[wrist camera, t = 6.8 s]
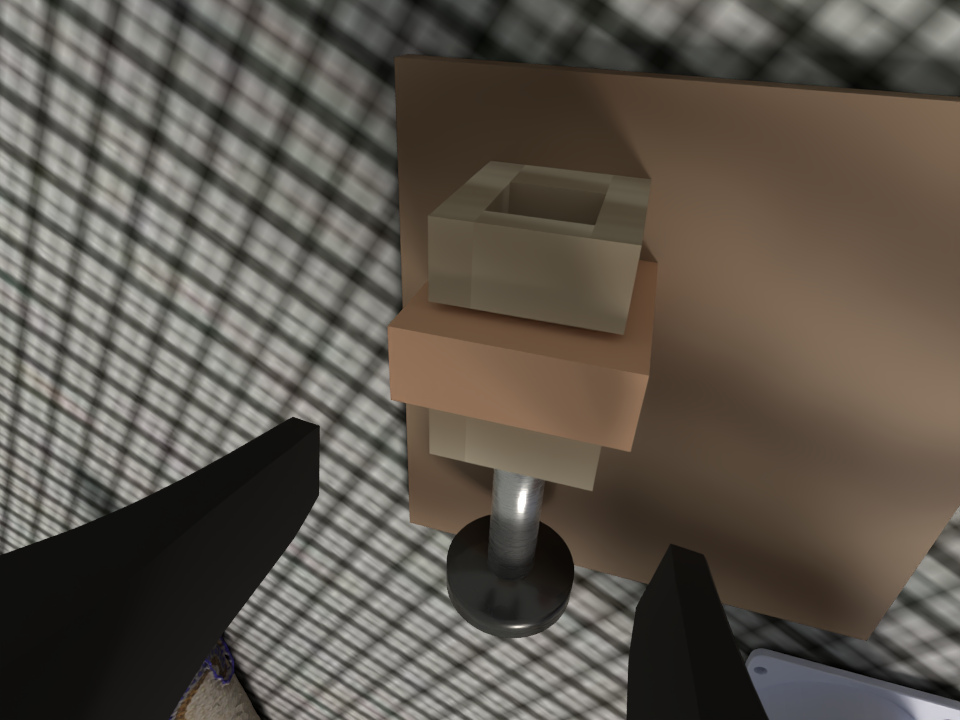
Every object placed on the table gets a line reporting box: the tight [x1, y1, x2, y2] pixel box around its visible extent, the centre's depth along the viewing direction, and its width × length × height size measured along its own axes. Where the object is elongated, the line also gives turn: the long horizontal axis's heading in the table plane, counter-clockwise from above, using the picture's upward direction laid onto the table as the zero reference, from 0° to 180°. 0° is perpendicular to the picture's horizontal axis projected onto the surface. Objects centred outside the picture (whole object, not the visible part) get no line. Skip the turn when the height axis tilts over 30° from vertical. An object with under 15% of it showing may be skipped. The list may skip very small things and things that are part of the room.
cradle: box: [394, 54, 960, 641], centre depth 17 cm, size 18×18×6 cm
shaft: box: [447, 469, 574, 638], centre depth 19 cm, size 8×4×4 cm, turn 178°
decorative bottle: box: [169, 637, 261, 720], centre depth 37 cm, size 26×8×7 cm, turn 8°
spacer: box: [388, 260, 658, 452], centre depth 15 cm, size 2×6×6 cm, turn 87°
